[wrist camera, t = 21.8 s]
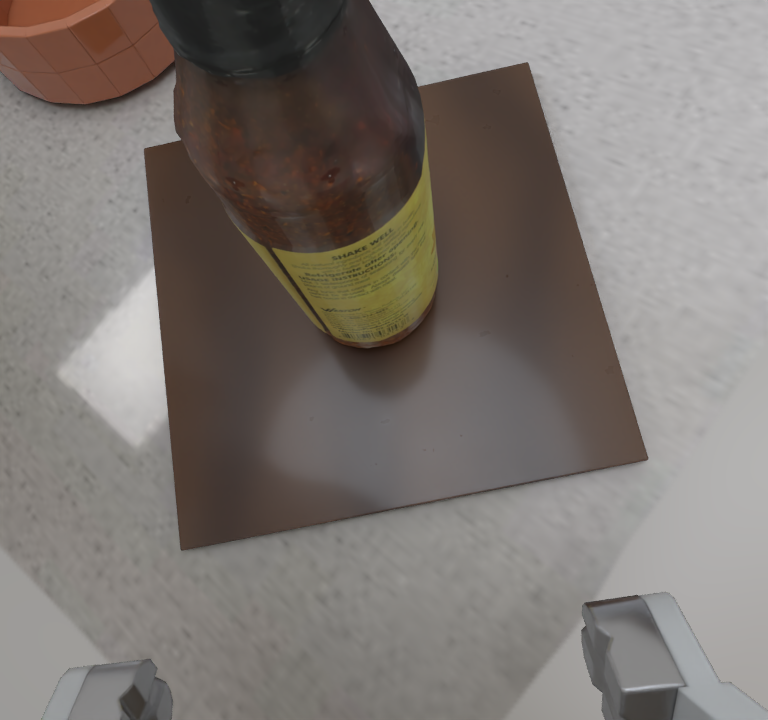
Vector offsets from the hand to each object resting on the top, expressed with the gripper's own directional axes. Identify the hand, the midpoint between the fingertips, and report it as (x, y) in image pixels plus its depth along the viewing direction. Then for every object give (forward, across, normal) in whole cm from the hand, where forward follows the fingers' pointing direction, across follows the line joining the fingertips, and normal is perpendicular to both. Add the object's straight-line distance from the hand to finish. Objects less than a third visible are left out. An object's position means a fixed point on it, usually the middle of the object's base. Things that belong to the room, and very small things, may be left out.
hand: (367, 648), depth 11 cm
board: (+18, 0, +1) cm, 18 cm away
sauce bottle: (+18, 0, 0) cm, 18 cm away
